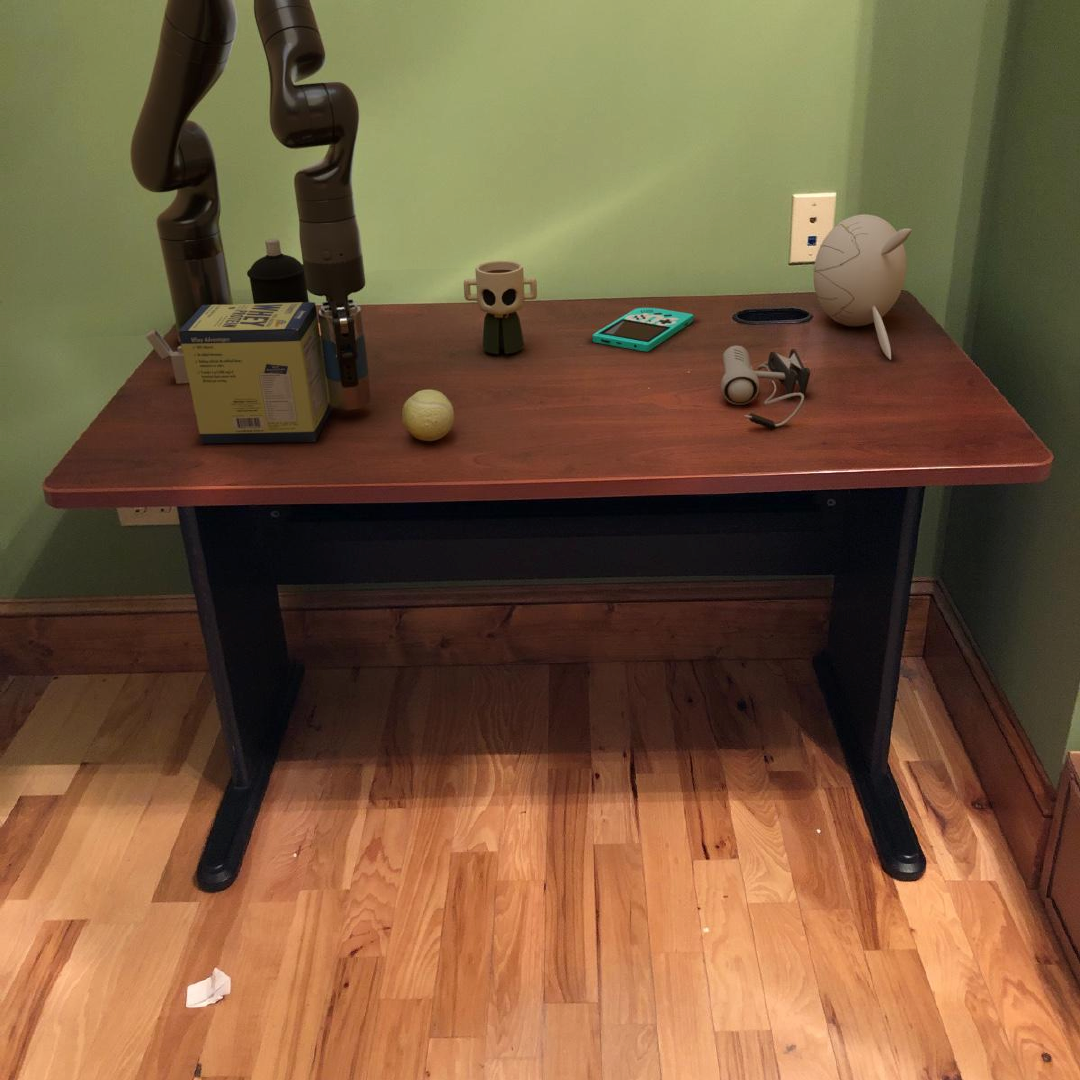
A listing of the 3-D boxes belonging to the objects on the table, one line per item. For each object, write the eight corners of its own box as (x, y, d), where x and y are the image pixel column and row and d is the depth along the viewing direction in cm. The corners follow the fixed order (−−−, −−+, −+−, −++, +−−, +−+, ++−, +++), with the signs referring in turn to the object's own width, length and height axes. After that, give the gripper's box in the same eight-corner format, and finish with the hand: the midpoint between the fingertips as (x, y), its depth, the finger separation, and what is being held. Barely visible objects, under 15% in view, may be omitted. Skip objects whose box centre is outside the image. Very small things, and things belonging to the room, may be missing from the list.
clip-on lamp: (813, 449, 148) (796, 370, 161) (824, 410, 143) (806, 332, 157) (723, 443, 148) (713, 365, 161) (731, 403, 143) (720, 326, 157)
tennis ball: (460, 445, 146) (457, 396, 142) (409, 453, 144) (404, 404, 141) (450, 426, 151) (446, 378, 148) (400, 433, 149) (395, 385, 146)
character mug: (465, 359, 172) (459, 274, 166) (470, 343, 178) (464, 260, 172) (537, 358, 172) (534, 273, 165) (540, 341, 178) (537, 259, 171)
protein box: (220, 413, 157) (200, 303, 150) (332, 410, 157) (317, 300, 149) (198, 445, 148) (175, 330, 141) (317, 443, 148) (300, 327, 140)
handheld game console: (695, 321, 184) (695, 313, 183) (648, 352, 172) (648, 344, 171) (640, 312, 189) (640, 304, 188) (591, 342, 177) (591, 333, 176)
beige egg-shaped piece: (804, 207, 181) (858, 225, 158) (889, 209, 182) (954, 227, 159) (791, 326, 188) (840, 360, 165) (872, 328, 189) (932, 361, 166)
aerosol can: (307, 387, 165) (288, 249, 155) (254, 384, 166) (232, 247, 156) (328, 366, 172) (310, 233, 162) (277, 364, 173) (256, 232, 163)
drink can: (328, 397, 156) (315, 301, 149) (369, 392, 157) (358, 297, 150) (331, 412, 151) (318, 314, 145) (374, 407, 152) (362, 309, 146)
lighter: (206, 377, 169) (196, 325, 165) (204, 382, 168) (194, 329, 164) (158, 380, 169) (147, 328, 165) (155, 384, 168) (144, 332, 164)
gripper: (368, 264, 139) (382, 394, 147) (355, 235, 151) (369, 356, 159) (305, 271, 137) (323, 401, 146) (298, 241, 149) (315, 363, 158)
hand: (347, 377), depth 152 cm, fingers closed on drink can, 5 cm apart
